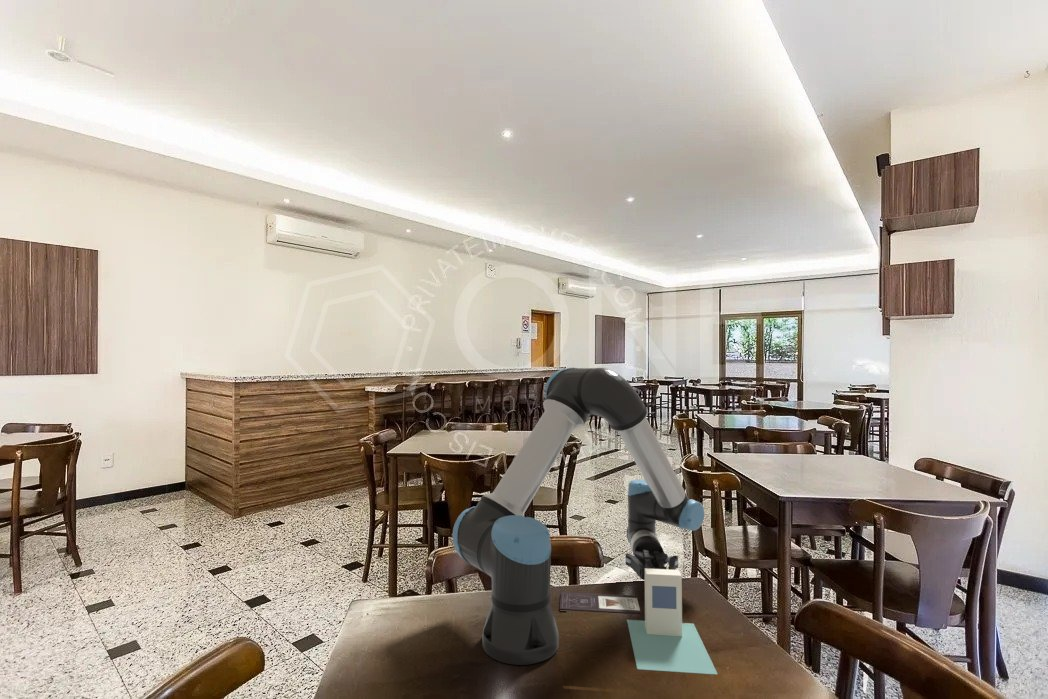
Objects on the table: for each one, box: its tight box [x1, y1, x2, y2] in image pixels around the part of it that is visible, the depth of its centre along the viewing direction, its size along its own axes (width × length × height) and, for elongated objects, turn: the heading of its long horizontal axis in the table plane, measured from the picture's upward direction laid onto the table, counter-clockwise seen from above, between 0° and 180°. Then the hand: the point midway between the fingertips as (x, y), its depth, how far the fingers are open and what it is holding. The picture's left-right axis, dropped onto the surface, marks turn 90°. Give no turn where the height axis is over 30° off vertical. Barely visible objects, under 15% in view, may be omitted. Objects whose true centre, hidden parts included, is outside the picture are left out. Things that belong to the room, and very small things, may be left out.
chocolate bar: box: [559, 591, 642, 615], centre depth 115 cm, size 9×1×18 cm
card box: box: [644, 568, 683, 636], centre depth 102 cm, size 7×3×12 cm, turn 84°
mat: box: [626, 619, 719, 676], centre depth 97 cm, size 14×18×1 cm
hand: (663, 588), depth 105 cm, fingers closed
